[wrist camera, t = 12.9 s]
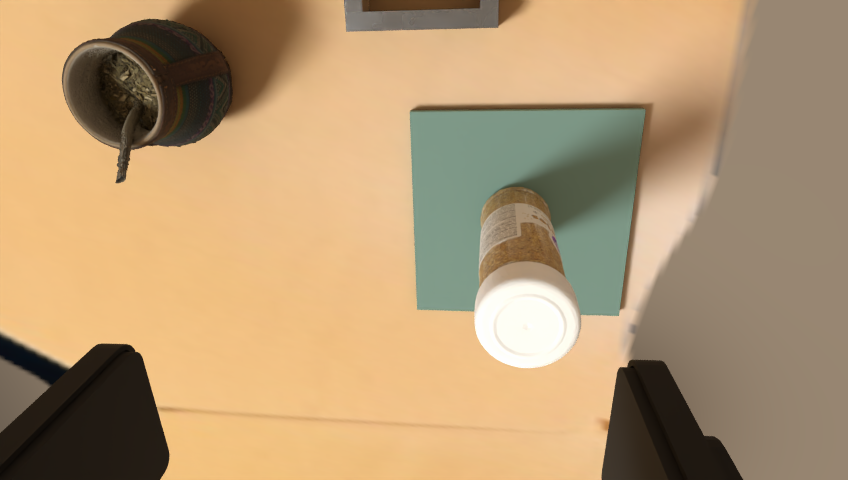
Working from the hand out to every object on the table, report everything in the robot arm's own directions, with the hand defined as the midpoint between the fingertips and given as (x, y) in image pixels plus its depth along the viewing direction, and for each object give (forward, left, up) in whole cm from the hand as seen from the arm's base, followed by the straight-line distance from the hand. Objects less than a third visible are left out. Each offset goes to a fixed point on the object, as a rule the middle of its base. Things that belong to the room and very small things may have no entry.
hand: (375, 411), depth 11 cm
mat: (+4, -5, -26) cm, 27 cm away
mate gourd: (-17, +4, -26) cm, 31 cm away
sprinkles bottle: (+4, -5, -25) cm, 26 cm away
